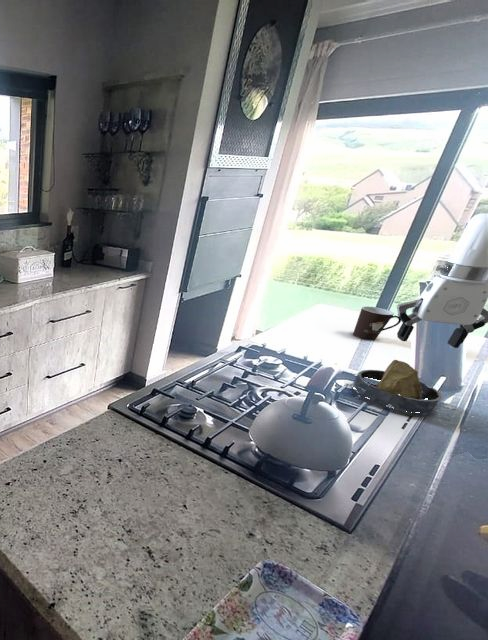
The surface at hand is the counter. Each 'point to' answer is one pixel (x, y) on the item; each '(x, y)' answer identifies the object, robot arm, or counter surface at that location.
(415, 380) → the rock
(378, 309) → the coffee mug
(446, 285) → the robot arm
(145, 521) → the counter surface
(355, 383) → the dark grey ring
